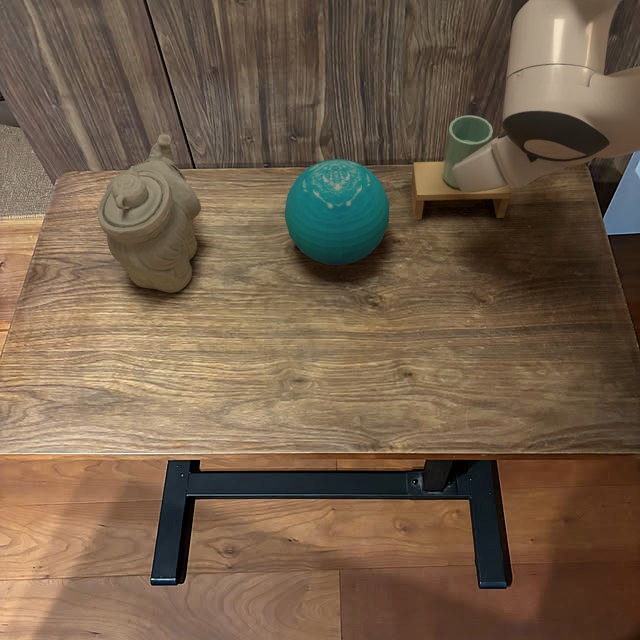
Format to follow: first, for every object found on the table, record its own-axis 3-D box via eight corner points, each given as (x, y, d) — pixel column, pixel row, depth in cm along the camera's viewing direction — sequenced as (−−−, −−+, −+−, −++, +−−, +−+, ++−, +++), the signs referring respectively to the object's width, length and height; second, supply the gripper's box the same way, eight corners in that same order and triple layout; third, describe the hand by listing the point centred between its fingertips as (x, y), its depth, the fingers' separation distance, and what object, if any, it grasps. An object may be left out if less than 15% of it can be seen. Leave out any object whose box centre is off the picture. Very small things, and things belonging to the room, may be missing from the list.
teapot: (181, 201, 102) (151, 105, 86) (241, 250, 96) (220, 157, 80) (97, 258, 96) (47, 166, 80) (154, 315, 90) (113, 227, 74)
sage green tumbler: (466, 197, 93) (476, 150, 85) (433, 178, 95) (440, 131, 88) (489, 175, 95) (501, 127, 87) (456, 157, 97) (465, 109, 90)
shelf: (497, 185, 101) (504, 159, 97) (503, 217, 97) (511, 192, 93) (410, 187, 102) (413, 162, 97) (413, 220, 98) (416, 195, 93)
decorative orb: (380, 206, 100) (384, 131, 87) (393, 281, 92) (400, 211, 79) (286, 214, 100) (277, 140, 87) (291, 290, 91) (282, 220, 79)
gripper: (599, 71, 79) (522, 100, 91) (488, 147, 72) (421, 166, 85) (617, 117, 81) (538, 139, 93) (510, 195, 74) (441, 207, 87)
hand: (482, 152), depth 89 cm, fingers open, 8 cm apart
